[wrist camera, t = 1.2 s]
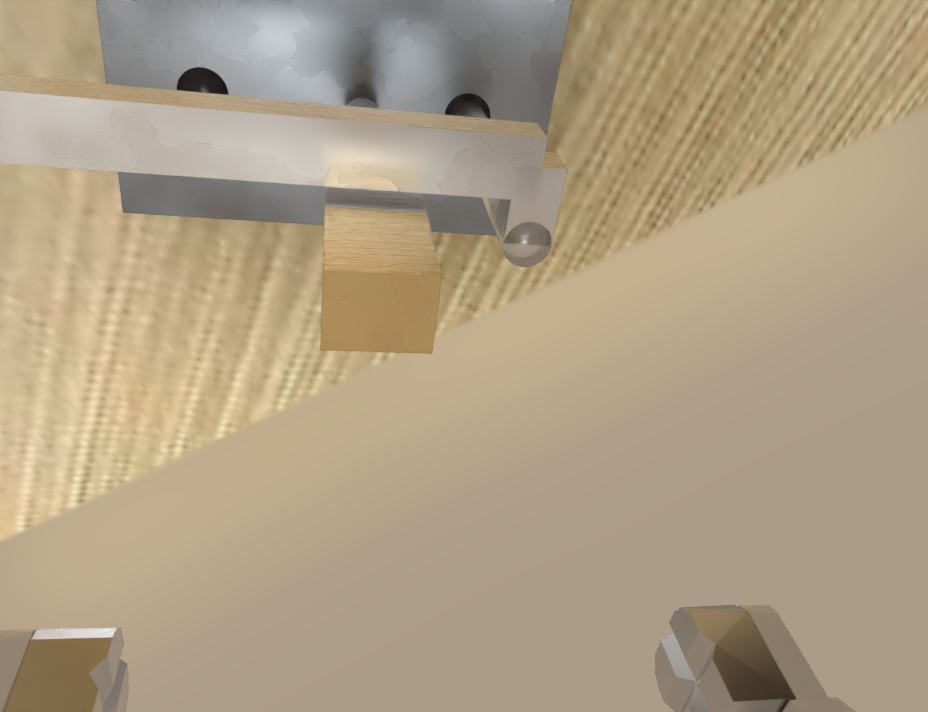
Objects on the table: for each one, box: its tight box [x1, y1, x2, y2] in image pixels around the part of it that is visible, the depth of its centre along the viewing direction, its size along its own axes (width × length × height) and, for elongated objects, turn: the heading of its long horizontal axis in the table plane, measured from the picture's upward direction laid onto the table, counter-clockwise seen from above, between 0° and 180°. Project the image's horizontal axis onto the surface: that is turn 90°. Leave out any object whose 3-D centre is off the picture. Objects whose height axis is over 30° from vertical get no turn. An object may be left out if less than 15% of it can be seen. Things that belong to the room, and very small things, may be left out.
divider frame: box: [0, 74, 567, 267], centre depth 28 cm, size 17×4×14 cm, turn 82°
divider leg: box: [320, 98, 442, 354], centre depth 27 cm, size 3×2×18 cm
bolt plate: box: [96, 0, 572, 236], centre depth 35 cm, size 20×12×1 cm, turn 82°
